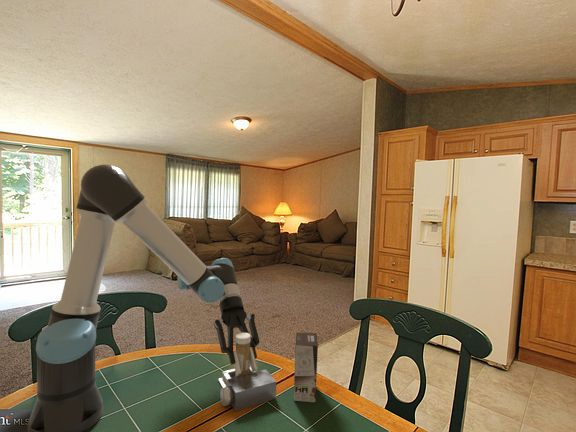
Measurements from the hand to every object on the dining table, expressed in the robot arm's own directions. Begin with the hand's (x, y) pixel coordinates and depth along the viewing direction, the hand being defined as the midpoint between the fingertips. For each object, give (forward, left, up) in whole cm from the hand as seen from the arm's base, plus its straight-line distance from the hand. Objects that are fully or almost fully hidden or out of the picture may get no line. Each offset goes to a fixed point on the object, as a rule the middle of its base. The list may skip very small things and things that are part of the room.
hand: (246, 372), depth 91 cm
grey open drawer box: (-1, +1, -5) cm, 6 cm away
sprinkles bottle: (0, +4, -4) cm, 5 cm away
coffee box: (+15, -8, -6) cm, 18 cm away
